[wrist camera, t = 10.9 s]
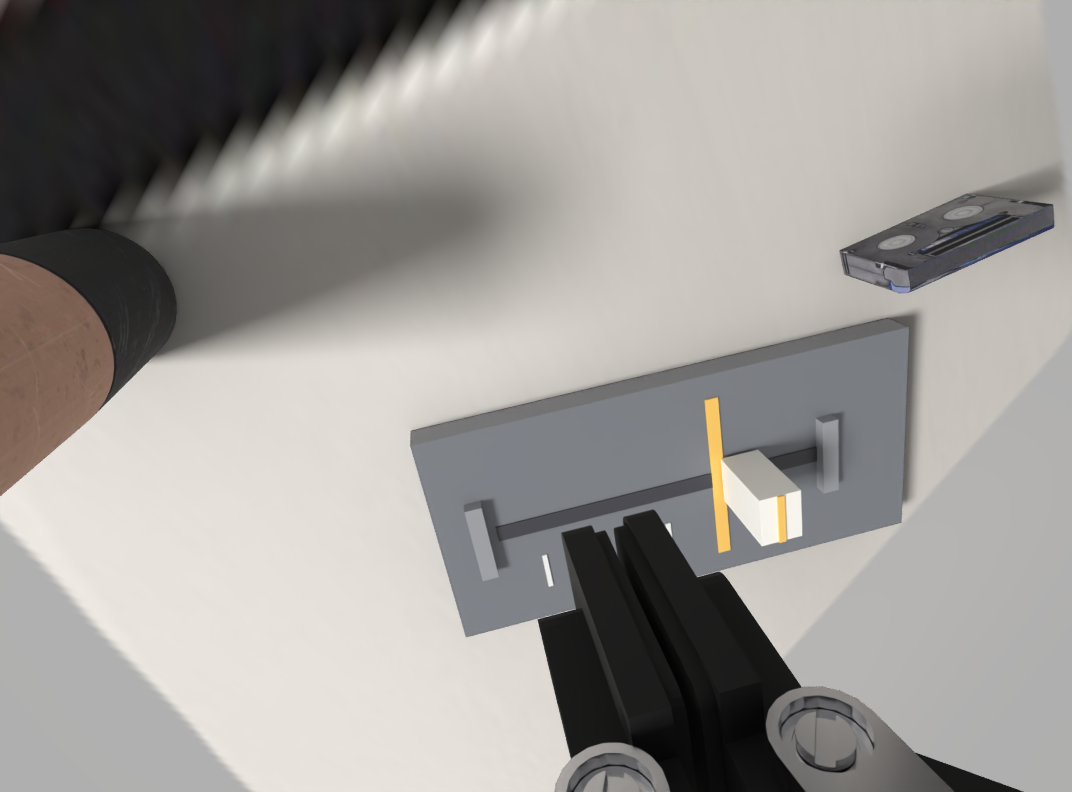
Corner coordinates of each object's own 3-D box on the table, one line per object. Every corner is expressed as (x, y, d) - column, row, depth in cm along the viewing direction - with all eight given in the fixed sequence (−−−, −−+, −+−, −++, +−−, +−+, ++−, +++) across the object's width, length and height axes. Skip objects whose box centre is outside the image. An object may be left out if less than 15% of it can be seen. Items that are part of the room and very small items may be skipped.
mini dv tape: (843, 274, 40) (910, 297, 35) (838, 250, 40) (906, 270, 34) (968, 217, 40) (1056, 232, 35) (965, 193, 40) (1054, 204, 34)
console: (410, 431, 39) (410, 452, 37) (887, 318, 42) (918, 330, 39) (464, 616, 45) (467, 646, 42) (882, 507, 47) (909, 529, 45)
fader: (720, 458, 41) (760, 501, 36) (757, 449, 41) (802, 491, 36) (724, 500, 42) (762, 547, 37) (760, 491, 42) (803, 536, 37)
